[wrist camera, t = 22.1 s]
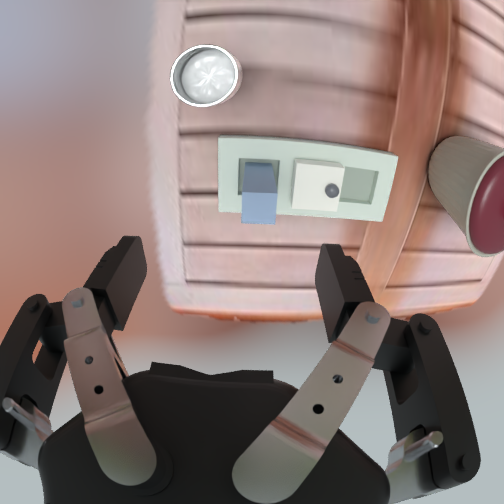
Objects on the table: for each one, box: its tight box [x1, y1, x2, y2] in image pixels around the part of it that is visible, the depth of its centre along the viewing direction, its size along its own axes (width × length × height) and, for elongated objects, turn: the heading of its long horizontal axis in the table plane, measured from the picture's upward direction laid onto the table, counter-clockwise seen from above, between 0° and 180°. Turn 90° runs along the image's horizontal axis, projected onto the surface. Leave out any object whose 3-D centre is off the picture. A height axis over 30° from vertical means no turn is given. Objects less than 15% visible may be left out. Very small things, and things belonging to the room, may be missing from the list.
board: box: [218, 135, 398, 222], centre depth 41 cm, size 12×28×2 cm, turn 88°
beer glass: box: [170, 44, 243, 107], centre depth 27 cm, size 7×7×15 cm
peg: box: [241, 162, 278, 224], centre depth 37 cm, size 4×4×12 cm
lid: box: [290, 159, 345, 212], centre depth 39 cm, size 7×7×3 cm
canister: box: [428, 136, 504, 257], centre depth 31 cm, size 18×18×21 cm
